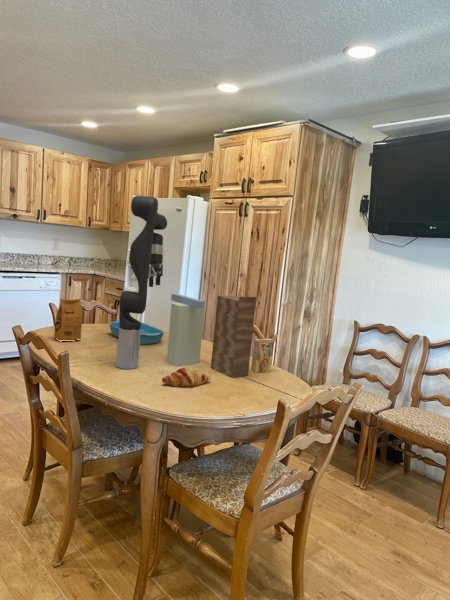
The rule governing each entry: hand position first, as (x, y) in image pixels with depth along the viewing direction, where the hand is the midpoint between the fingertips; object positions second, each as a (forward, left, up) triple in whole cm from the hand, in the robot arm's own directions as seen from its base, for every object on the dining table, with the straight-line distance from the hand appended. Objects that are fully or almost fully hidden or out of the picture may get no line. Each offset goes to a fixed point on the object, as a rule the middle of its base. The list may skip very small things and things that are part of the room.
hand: (154, 286), depth 214 cm
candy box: (+3, -59, -34) cm, 68 cm away
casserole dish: (+17, +20, -34) cm, 43 cm away
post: (-8, -47, -33) cm, 58 cm away
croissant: (-35, -39, -34) cm, 62 cm away
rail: (-8, -23, -5) cm, 25 cm away
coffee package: (-11, +43, -34) cm, 56 cm away
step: (-8, -24, -33) cm, 42 cm away
